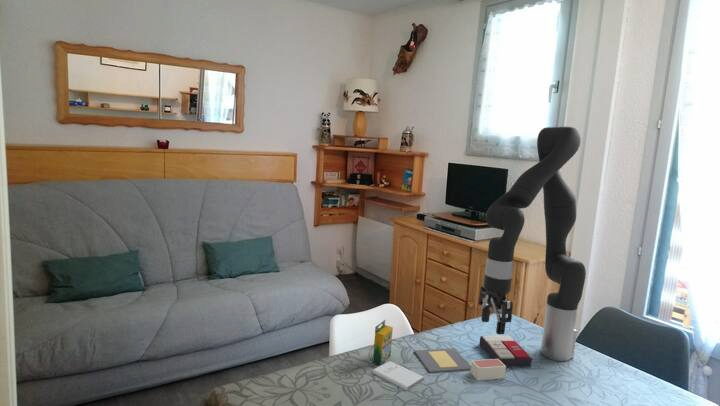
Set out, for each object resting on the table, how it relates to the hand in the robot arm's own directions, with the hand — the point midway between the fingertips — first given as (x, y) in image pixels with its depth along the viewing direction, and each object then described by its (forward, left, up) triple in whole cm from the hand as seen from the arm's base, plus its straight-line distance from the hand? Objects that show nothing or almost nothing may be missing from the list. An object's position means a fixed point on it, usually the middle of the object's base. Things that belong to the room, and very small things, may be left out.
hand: (492, 327), depth 130 cm
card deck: (0, 0, -15) cm, 15 cm away
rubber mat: (+10, -10, -15) cm, 20 cm away
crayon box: (+29, -13, -15) cm, 35 cm away
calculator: (-12, -11, -16) cm, 23 cm away
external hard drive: (+27, -3, -16) cm, 31 cm away
